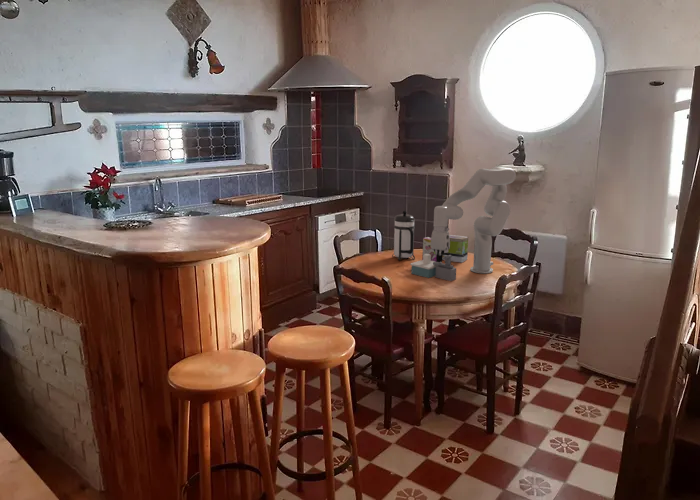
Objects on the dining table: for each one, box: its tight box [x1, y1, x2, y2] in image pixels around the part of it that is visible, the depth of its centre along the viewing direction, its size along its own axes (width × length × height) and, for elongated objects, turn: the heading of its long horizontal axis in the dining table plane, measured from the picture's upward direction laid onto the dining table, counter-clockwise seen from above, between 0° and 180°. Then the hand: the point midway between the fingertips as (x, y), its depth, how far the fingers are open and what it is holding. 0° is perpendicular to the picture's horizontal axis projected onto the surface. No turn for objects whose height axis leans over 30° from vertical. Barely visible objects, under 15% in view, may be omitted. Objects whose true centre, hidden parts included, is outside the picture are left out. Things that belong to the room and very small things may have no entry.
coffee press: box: [391, 210, 416, 262], centre depth 338 cm, size 17×16×30 cm
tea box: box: [442, 234, 469, 263], centre depth 337 cm, size 15×10×15 cm, turn 58°
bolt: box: [433, 255, 455, 269], centre depth 299 cm, size 5×12×6 cm, turn 46°
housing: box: [410, 265, 457, 282], centre depth 304 cm, size 12×24×6 cm, turn 46°
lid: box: [410, 254, 437, 269], centre depth 307 cm, size 13×13×6 cm
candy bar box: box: [421, 236, 443, 263], centre depth 323 cm, size 11×5×16 cm, turn 47°
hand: (439, 261), depth 301 cm, fingers closed
